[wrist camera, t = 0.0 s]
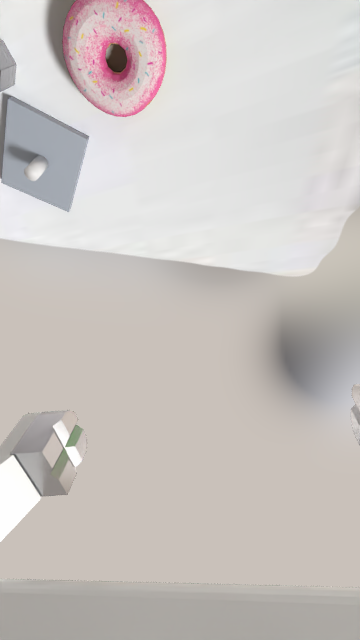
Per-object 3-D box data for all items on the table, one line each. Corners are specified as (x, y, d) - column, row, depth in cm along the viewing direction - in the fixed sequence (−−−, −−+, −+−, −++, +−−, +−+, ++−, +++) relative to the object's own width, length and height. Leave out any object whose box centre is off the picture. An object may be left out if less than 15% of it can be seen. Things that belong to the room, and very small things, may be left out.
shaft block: (11, 96, 47) (-8, 106, 42) (89, 136, 51) (79, 150, 46) (4, 179, 56) (-12, 195, 52) (70, 208, 60) (60, 225, 55)
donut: (61, 82, 46) (51, 89, 42) (80, -44, 37) (69, -48, 33) (146, 127, 50) (143, 137, 46) (182, 23, 41) (181, 26, 37)
